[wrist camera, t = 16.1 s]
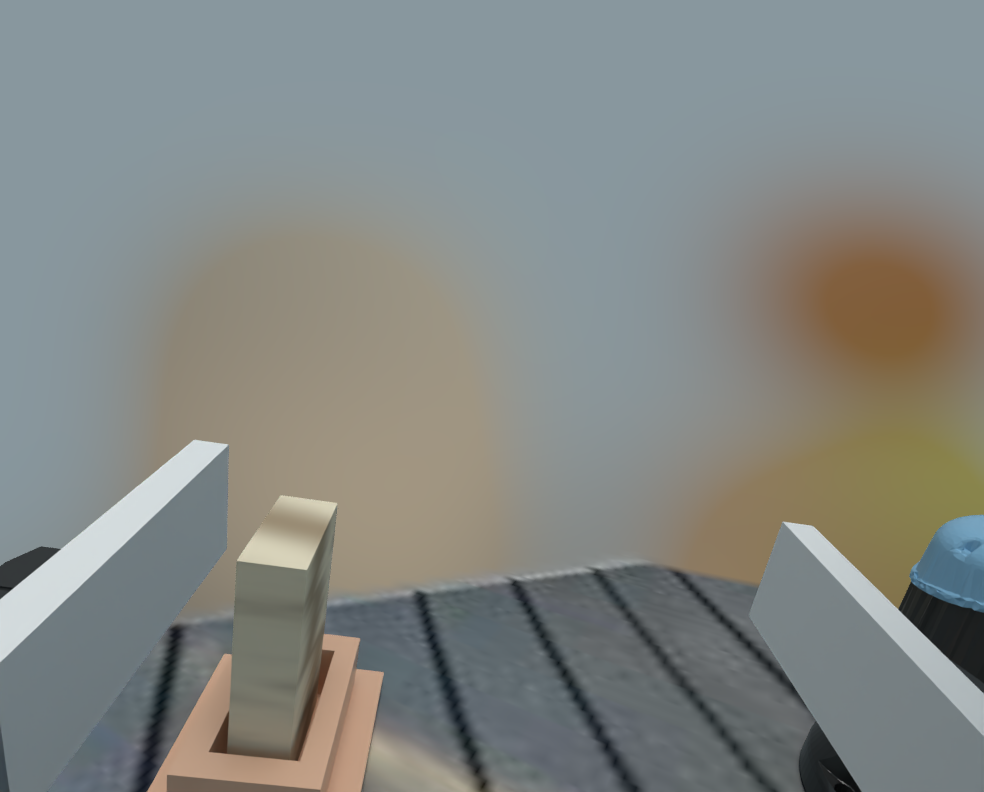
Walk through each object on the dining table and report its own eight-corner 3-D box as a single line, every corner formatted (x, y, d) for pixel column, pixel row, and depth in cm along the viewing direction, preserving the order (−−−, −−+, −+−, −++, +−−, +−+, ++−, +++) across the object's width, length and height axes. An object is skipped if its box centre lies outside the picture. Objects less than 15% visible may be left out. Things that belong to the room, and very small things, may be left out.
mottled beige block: (265, 697, 41) (280, 495, 36) (316, 703, 41) (337, 503, 36) (225, 794, 34) (236, 560, 29) (285, 799, 34) (307, 569, 29)
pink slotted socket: (223, 664, 44) (226, 609, 42) (382, 682, 45) (390, 629, 43) (115, 863, 30) (113, 793, 29) (344, 882, 32) (353, 816, 30)
